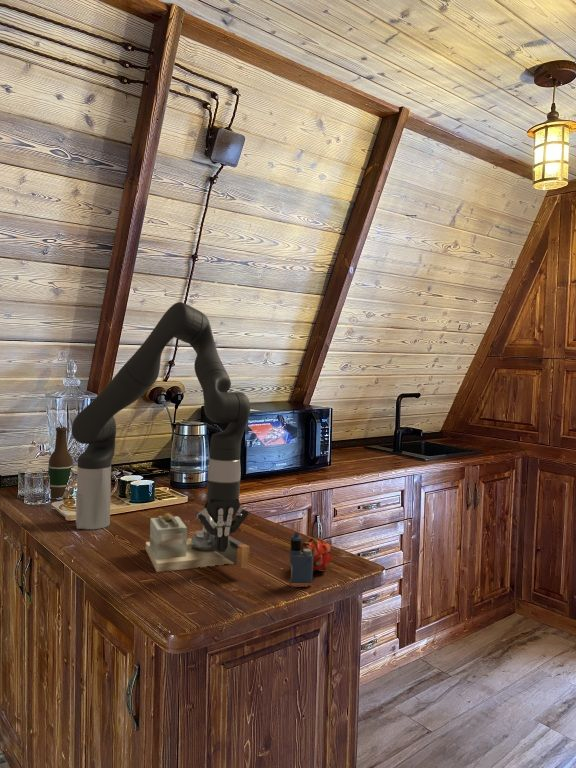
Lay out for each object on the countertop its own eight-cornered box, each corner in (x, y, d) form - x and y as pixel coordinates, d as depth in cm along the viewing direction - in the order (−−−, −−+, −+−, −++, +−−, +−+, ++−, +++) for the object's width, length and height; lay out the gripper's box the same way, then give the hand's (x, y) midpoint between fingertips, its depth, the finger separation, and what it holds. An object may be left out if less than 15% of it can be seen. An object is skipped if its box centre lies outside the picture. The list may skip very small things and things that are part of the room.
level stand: (156, 572, 137) (158, 525, 137) (145, 549, 152) (146, 507, 151) (238, 563, 145) (240, 519, 144) (220, 543, 160) (222, 502, 159)
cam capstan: (185, 543, 151) (186, 513, 150) (213, 539, 155) (214, 509, 155) (229, 572, 132) (230, 537, 132) (259, 566, 137) (261, 532, 137)
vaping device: (288, 583, 134) (290, 531, 133) (311, 583, 134) (313, 531, 133) (289, 587, 131) (291, 534, 130) (312, 587, 132) (315, 534, 131)
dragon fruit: (298, 585, 137) (318, 576, 148) (328, 568, 134) (346, 561, 145) (282, 550, 140) (303, 544, 150) (311, 534, 137) (330, 529, 148)
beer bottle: (57, 501, 194) (59, 429, 193) (42, 497, 199) (44, 426, 197) (77, 497, 201) (78, 427, 200) (62, 493, 205) (63, 424, 204)
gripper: (243, 473, 144) (239, 543, 145) (191, 475, 137) (188, 549, 138) (256, 479, 137) (253, 553, 138) (203, 482, 131) (199, 559, 132)
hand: (220, 551), depth 138 cm, fingers closed
